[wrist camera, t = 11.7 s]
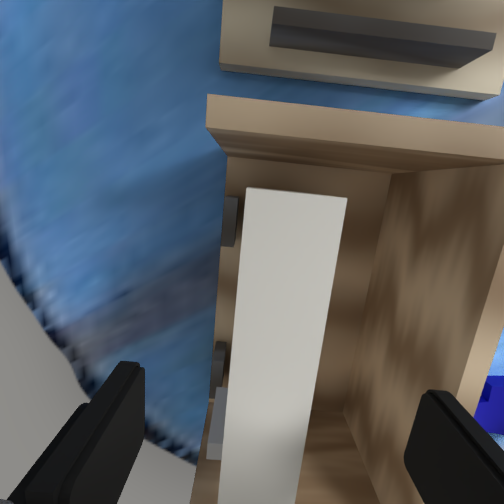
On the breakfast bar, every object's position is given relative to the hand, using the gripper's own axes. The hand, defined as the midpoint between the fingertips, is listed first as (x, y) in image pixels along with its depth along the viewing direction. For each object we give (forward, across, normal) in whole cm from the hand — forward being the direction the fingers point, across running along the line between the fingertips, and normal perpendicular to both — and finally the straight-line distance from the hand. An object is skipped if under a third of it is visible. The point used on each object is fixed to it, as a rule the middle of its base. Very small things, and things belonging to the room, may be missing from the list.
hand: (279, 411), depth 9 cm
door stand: (+14, -4, -18) cm, 23 cm away
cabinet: (+13, -2, +1) cm, 13 cm away
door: (+12, 0, +1) cm, 12 cm away
